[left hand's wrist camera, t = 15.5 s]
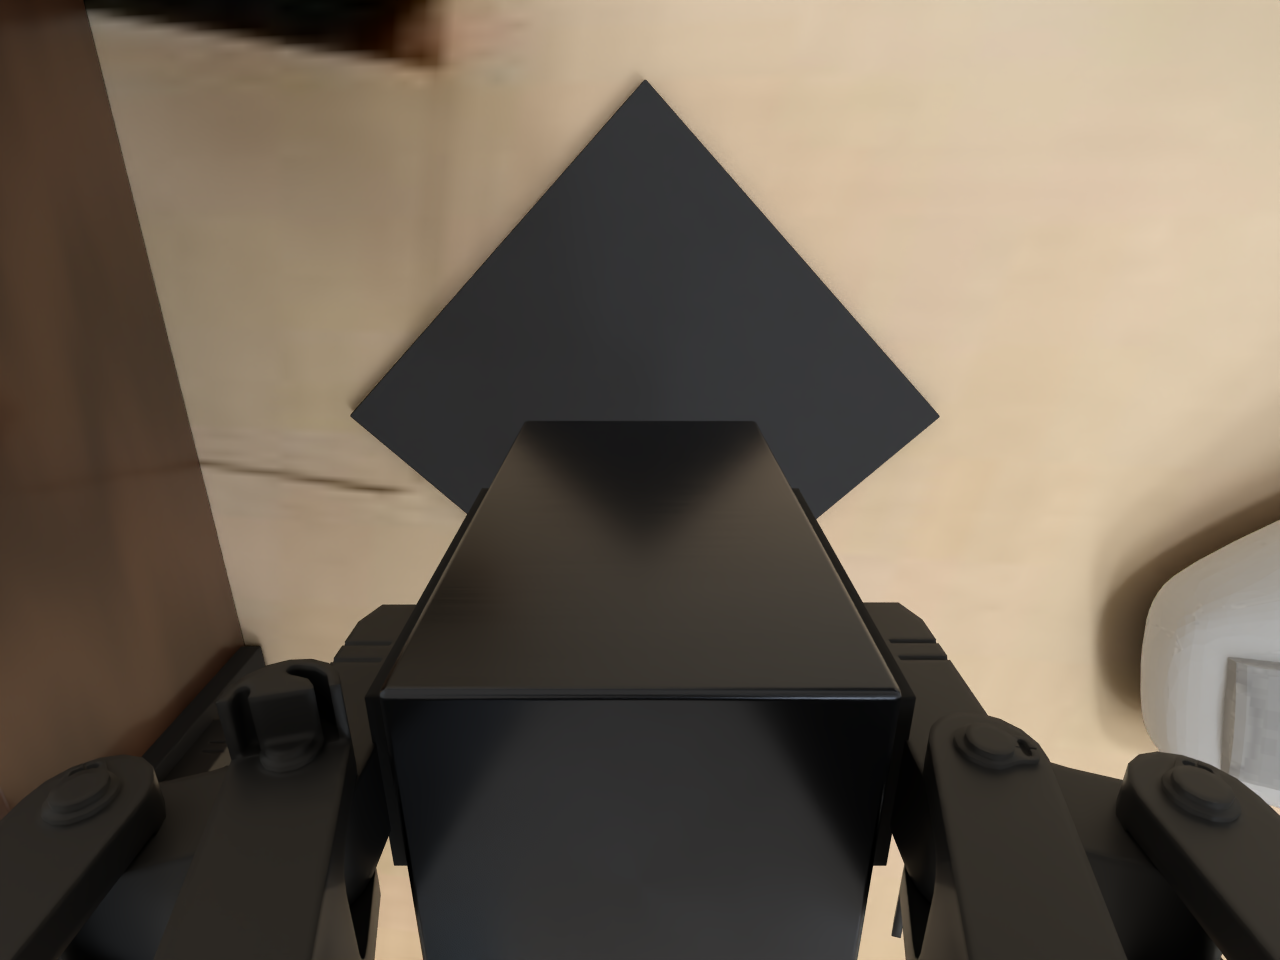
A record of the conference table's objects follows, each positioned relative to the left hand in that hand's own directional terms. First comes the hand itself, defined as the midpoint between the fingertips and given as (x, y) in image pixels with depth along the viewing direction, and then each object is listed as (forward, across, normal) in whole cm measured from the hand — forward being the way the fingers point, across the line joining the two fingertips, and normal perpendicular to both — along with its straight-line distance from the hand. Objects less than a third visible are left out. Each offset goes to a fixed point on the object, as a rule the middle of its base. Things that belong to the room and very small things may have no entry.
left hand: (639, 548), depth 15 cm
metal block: (+1, 0, 0) cm, 1 cm away
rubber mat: (+10, 0, 0) cm, 10 cm away
